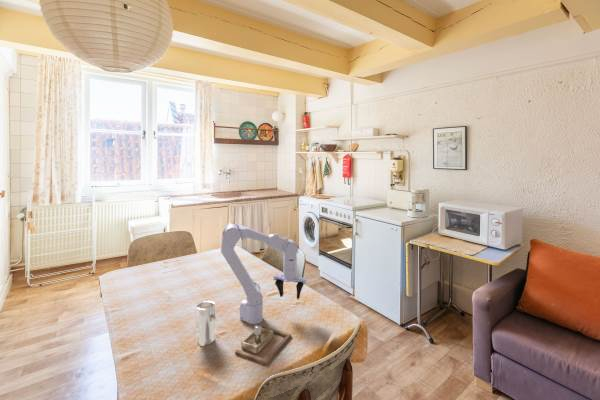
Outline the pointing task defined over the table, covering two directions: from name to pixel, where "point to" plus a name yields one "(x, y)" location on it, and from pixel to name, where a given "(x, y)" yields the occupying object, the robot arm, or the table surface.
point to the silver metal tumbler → (206, 322)
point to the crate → (257, 339)
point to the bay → (274, 352)
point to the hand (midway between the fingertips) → (289, 297)
